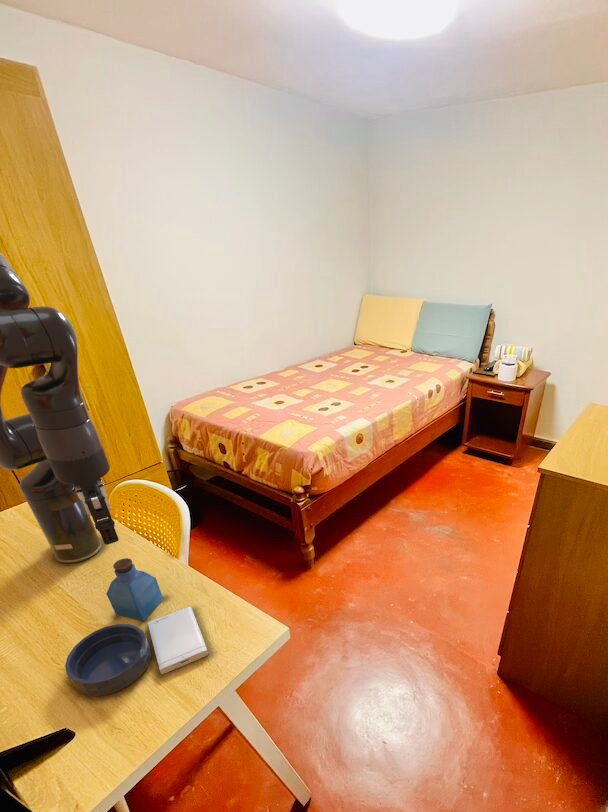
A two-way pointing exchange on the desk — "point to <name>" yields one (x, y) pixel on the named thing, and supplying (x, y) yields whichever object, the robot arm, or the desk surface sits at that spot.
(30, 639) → the desk surface
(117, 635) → the bowl
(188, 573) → the desk surface
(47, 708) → the desk surface
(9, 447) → the robot arm
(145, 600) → the perfume bottle
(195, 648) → the hard drive
